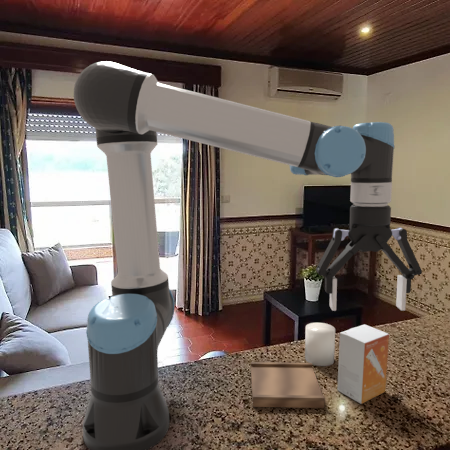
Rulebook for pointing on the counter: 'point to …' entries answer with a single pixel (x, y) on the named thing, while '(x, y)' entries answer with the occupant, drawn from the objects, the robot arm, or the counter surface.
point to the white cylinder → (319, 344)
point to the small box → (362, 363)
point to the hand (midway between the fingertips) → (366, 308)
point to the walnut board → (285, 385)
